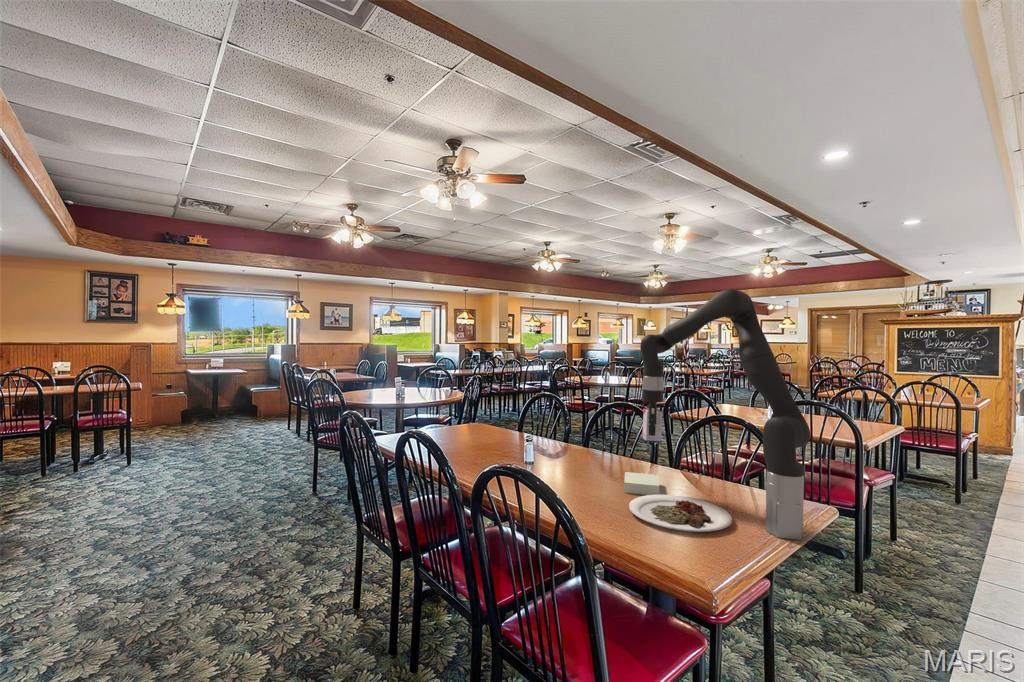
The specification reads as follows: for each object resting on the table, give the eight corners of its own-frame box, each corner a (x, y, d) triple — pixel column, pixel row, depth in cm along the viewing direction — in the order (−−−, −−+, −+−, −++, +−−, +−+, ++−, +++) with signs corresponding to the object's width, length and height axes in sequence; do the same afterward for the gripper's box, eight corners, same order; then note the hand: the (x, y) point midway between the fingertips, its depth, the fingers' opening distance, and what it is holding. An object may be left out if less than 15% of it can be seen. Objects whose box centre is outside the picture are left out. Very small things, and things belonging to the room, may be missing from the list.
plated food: (622, 526, 134) (622, 514, 134) (634, 495, 162) (634, 485, 162) (736, 544, 123) (736, 532, 123) (728, 507, 151) (728, 497, 151)
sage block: (659, 497, 161) (659, 485, 161) (624, 493, 164) (624, 482, 164) (657, 485, 174) (657, 474, 174) (625, 482, 178) (625, 471, 178)
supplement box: (661, 442, 166) (662, 411, 166) (645, 442, 167) (646, 410, 167) (657, 439, 172) (658, 408, 172) (641, 438, 172) (642, 408, 172)
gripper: (664, 391, 161) (663, 438, 161) (662, 387, 175) (661, 430, 175) (642, 390, 163) (641, 436, 163) (642, 386, 177) (641, 429, 177)
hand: (651, 433), depth 169 cm, fingers closed on supplement box, 6 cm apart
